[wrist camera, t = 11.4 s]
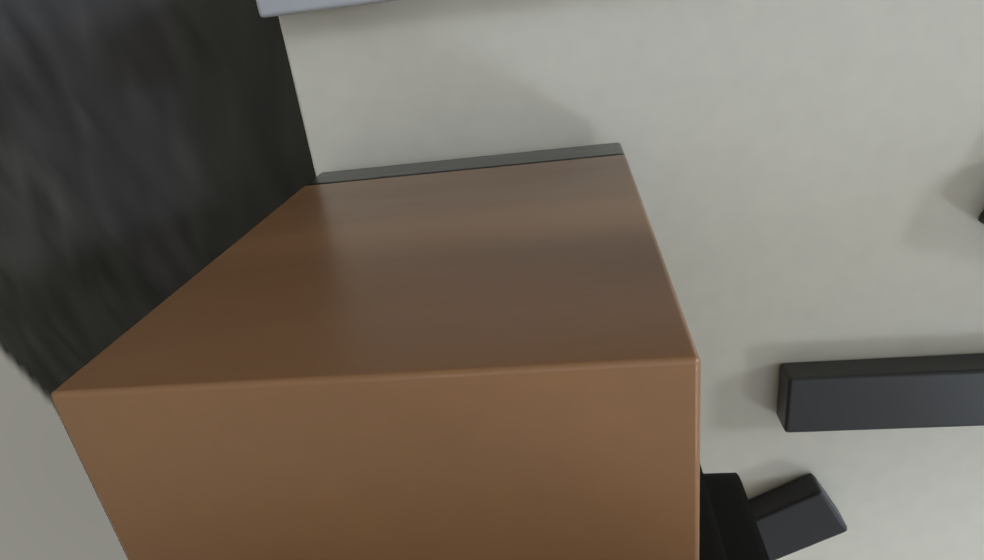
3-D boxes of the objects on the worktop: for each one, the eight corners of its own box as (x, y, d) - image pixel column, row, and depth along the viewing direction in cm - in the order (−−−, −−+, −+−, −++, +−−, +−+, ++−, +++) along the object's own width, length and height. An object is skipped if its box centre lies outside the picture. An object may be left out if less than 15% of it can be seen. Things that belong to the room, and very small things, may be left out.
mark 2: (775, 414, 13) (784, 434, 12) (778, 361, 12) (789, 379, 12) (1002, 405, 12) (1022, 425, 11) (1015, 349, 12) (1038, 368, 11)
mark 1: (666, 580, 15) (670, 604, 14) (637, 547, 14) (640, 569, 14) (838, 509, 13) (850, 531, 13) (811, 470, 13) (822, 491, 12)
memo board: (446, 660, 18) (434, 730, 17) (289, -52, 11) (239, -57, 9) (1357, 668, 15) (1457, 755, 14) (1973, -295, 8) (2355, -368, 6)
